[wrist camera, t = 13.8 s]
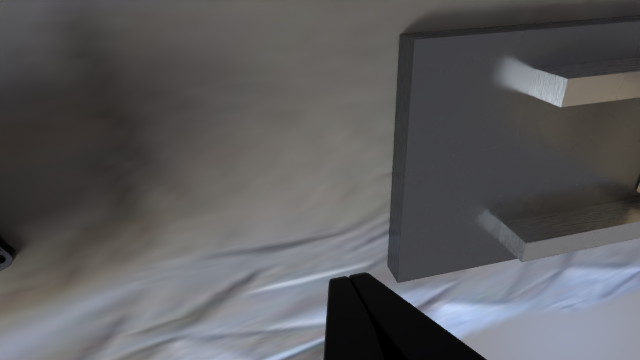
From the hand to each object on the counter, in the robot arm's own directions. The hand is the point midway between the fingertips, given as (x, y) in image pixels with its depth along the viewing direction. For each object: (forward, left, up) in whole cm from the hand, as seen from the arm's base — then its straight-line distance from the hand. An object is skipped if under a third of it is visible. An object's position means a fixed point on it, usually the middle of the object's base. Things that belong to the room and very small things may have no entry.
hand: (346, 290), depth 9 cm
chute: (+13, -9, -11) cm, 20 cm away
